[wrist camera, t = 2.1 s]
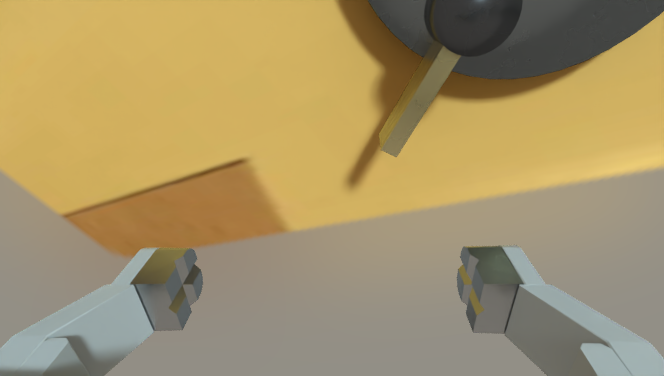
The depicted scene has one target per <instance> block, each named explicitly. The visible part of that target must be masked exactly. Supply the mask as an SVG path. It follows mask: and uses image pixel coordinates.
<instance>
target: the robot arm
mask: <svg viewBox="0 0 664 376" xmlns="http://www.w3.org/2000/svg"><path fill="white" fill-rule="evenodd" d="M460 258H461V260H462V263H463V265H462V266H461V267H460V268H459V269H458V275H457V287H458V292H459V295H460V298H461V301H462V302H463V303H465V304H466V305H467V310H466V315H467V318H468V320H469V323H470V325H471V328H472V331H473V332H474V333H498V334H499V333H500V334H505V336H506V337H507V338H508V339H509V340H510V341H511V342H512V343H513V344H514V345H516V346H517V347H518V348H519V349H520V350H521V351H522V352H523V353H524V354H525V355H526V356H527V357H528V358H529V359H530V360H531V361H532V362H533V363H534V364H536V365H537V366H538V367H539V368H540V369H541V370H542V371H543V372H544V373H545V374H546V375H547V376H664V358H663V357H662V356H661V355H660V353H659V352H658V351H657V350H656V349H655V348H654V346H653V345H652V344H651V343H650V342H648V341H646V340H645V339H643V338H641V337H639V336H638V335H636V334H634V333H633V332H631V331H629V330H628V329H626V328H624V327H623V326H621V325H619V324H617V323H615V322H614V321H612V320H611V319H609V318H607V317H605V316H604V315H602V314H600V313H599V312H597V311H595V310H594V309H592V308H590V307H588V306H587V305H585V304H583V303H582V302H580V301H578V300H577V299H575V298H573V297H572V296H570V295H568V294H566V293H565V292H563V291H561V290H560V289H558V288H556V287H554V286H553V285H546V284H545V283H544V281H543V280H542V278H541V277H540V275H539V274H538V273H537V271H536V270H535V268H534V267H533V265H532V264H531V262H530V261H529V259H528V258H527V257H526V255H525V254H524V252H523V251H522V249H521V248H520V247H519V246H517V245H503V246H466V247H463V248H462V251H461V256H460ZM196 260H197V256H196V254H195V251H194V250H193V249H191V248H143V249H141V250H139V252H138V253H137V254H136V255H135V256H134V258H133V259H132V260H131V261H130V262H129V264H128V265H127V266H126V267H125V269H124V270H123V271H122V272H121V273H120V274H119V276H118V277H117V278H116V279H115V280H114V282H113V283H112V284H111V285H104V286H102V287H101V288H99V289H97V290H95V291H93V292H92V293H90V294H88V295H86V296H84V297H83V298H81V299H79V300H77V301H75V302H74V303H72V304H70V305H68V306H66V307H64V308H63V309H61V310H59V311H57V312H55V313H54V314H52V315H50V316H48V317H46V318H45V319H43V320H41V321H39V322H38V323H35V324H34V325H32V326H30V327H28V328H26V329H25V330H23V331H21V332H19V333H17V334H16V335H14V336H12V337H11V338H10V340H8V342H6V343H5V344H4V345H3V346H2V347H1V348H0V376H104V375H105V374H106V373H108V372H109V371H110V370H111V369H112V368H113V367H115V366H116V365H117V364H118V363H119V362H120V361H121V360H123V359H124V358H125V357H126V356H127V355H128V354H130V353H131V352H132V351H133V350H134V349H135V348H136V347H138V346H139V345H140V344H141V343H142V342H143V341H144V340H146V339H147V338H148V337H149V336H150V335H151V334H153V333H154V331H161V330H183V328H184V326H185V324H186V321H187V320H188V318H189V316H190V314H191V308H190V305H191V304H193V303H194V302H196V301H197V300H198V298H199V296H200V294H201V290H202V285H203V277H202V273H201V270H200V269H199V268H198V267H197V266H196V265H195V264H194V263H195V262H196Z"/></svg>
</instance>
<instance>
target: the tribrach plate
mask: <svg viewBox="0 0 664 376" xmlns="http://www.w3.org/2000/svg"><path fill="white" fill-rule="evenodd" d="M522 1H523V2H522V10H521V14H520V17H519V20H518V22H517V25H516V27H515V28H514V30H513V32H512V33H511V34H510V36H509V37H508V38H507V39H506V40H505V41H504V42H503V43H502V44H501V45H500V46H498V47H497V48H495V49H494V50H492V51H490V52H488V53H486V54H483V55H479V56H473V57H466V56H461V57H460V58H459V60H458V61H457V63H456V64H455V66H454V68H453V69H452V71H453V72H457V73H460V74H464V75H467V76H473V77H480V78H487V79H517V78H525V77H533V76H539V75H543V74H547V73H551V72H555V71H559V70H562V69H565V68H567V67H570V66H573V65H576V64H578V63H581V62H584V61H586V60H588V59H590V58H592V57H594V56H596V55H598V54H600V53H602V52H604V51H606V50H608V49H610V48H612V47H613V46H615V45H617V44H618V43H620V42H622V41H623V40H625V39H626V38H628V37H630V36H631V35H633V34H635V33H636V32H637V31H639V30H640V29H641V28H643V27H644V26H645V25H647V24H648V23H649V22H651V21H652V20H653V19H655V18H656V17H657V16H659V15H660V14H661V13H662V12H663V11H664V0H522ZM368 2H369V3H370V5H371V6H372V8H373V9H374V11H375V13H376V14H377V16H378V17H379V18H380V19H381V20H382V21H383V23H384V24H385V25H386V26H387V27H388V28H389V30H390V31H391V32H392V33H393V34H394V35H395V36H396V37H397V38H398V39H399V40H401V41H402V42H403V43H404V44H405V45H406V46H407V47H409V48H410V49H411V50H412V51H414V52H415V53H417V54H419V55H420V56H422V57H423V58H424V56H425V54H426V52H427V51H428V49H429V47H430V46H431V44H432V42H433V39H432V37H431V36H430V35H429V33H428V31H427V29H426V25H425V20H424V9H425V4H426V0H368Z"/></svg>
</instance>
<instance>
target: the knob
mask: <svg viewBox="0 0 664 376" xmlns="http://www.w3.org/2000/svg"><path fill="white" fill-rule="evenodd" d="M522 2H523V1H522V0H426V4H425V9H424V20H425V25H426V29H427V31H428V33H429V35H430V36H431V37H432V39H433V42H432V44H431V46H430V47H429V49H428V51H427V52H426V54H425V56H424V58H423V59H422V61H421V63H420V64H419V66H418V68H417V69H416V71H415V73H414V75H413V76H412V78H411V80H410V81H409V83H408V85H407V87H406V88H405V90H404V92H403V93H402V95H401V97H400V99H399V100H398V102H397V104H396V105H395V107H394V109H393V111H392V112H391V114H390V116H389V117H388V119H387V121H386V123H385V124H384V126H383V128H382V129H381V131H380V133H379V140H380V147H381V150H382V151H384V152H386V153H388V154H390V155H393V156H395V157H397V156H398V154H399V153H400V151H401V149H402V148H403V146H404V145H405V143H406V142H407V140H408V138H409V137H410V135H411V134H412V132H413V131H414V129H415V127H416V126H417V124H418V123H419V121H420V120H421V118H422V116H423V115H424V113H425V112H426V110H427V109H428V107H429V105H430V104H431V102H432V101H433V99H434V97H435V96H436V94H437V93H438V91H439V90H440V88H441V86H442V85H443V83H444V82H445V80H446V79H447V77H448V75H449V74H450V72H451V71H452V69H453V68H454V66H455V64H456V63H457V61H458V60H459V58H460V57H461V56H466V57H473V56H479V55H483V54H486V53H488V52H490V51H492V50H494V49H495V48H497V47H498V46H500V45H501V44H502V43H503V42H504V41H505V40H506V39H507V38H508V37H509V36H510V34H511V33H512V32H513V30H514V28H515V27H516V25H517V22H518V20H519V17H520V14H521V10H522Z"/></svg>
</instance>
